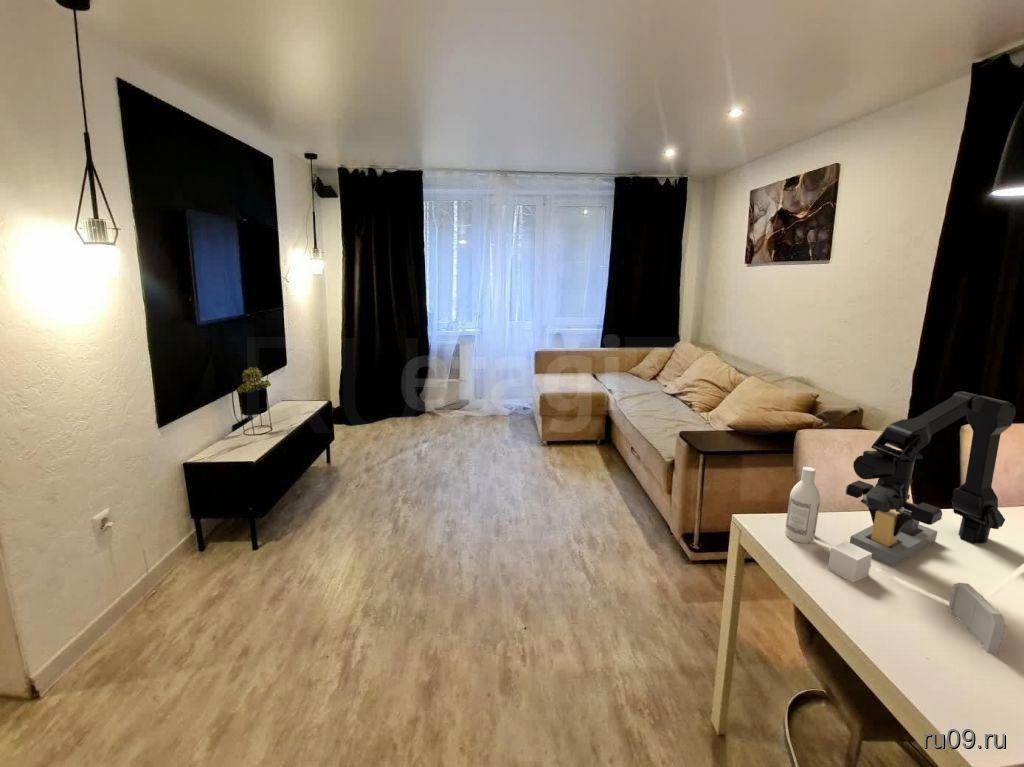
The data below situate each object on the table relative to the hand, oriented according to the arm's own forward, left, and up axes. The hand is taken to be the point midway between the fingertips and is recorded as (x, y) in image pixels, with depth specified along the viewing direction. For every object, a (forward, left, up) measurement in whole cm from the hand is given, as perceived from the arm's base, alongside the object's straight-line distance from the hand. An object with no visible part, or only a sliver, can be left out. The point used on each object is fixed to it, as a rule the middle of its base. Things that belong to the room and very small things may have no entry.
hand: (885, 531), depth 125 cm
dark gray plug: (-11, 0, -5) cm, 12 cm away
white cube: (+16, 0, -6) cm, 17 cm away
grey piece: (-5, 0, -6) cm, 8 cm away
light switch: (+15, +23, -6) cm, 28 cm away
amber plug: (0, 0, -2) cm, 3 cm away
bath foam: (+11, -15, -6) cm, 19 cm away
